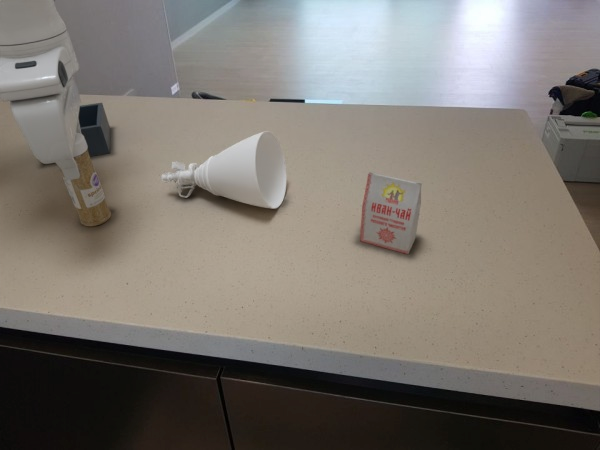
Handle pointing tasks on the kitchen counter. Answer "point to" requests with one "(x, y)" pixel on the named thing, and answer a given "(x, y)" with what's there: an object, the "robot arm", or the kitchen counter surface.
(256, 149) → the rocket engine
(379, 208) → the tea bag
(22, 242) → the kitchen counter surface
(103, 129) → the box
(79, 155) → the sprinkles bottle
